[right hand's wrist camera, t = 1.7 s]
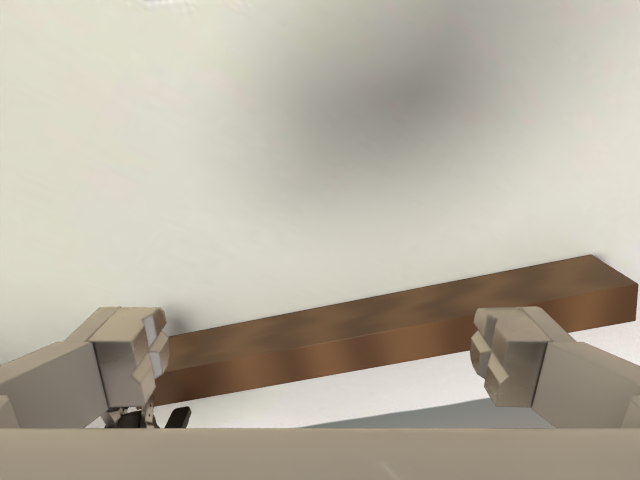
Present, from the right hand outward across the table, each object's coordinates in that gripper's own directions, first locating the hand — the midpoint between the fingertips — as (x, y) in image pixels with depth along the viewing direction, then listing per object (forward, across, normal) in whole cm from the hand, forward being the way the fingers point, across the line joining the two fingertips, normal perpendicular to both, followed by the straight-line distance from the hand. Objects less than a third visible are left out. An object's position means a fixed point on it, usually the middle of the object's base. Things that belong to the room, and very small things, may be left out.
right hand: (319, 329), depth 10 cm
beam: (+35, -5, +21) cm, 41 cm away
